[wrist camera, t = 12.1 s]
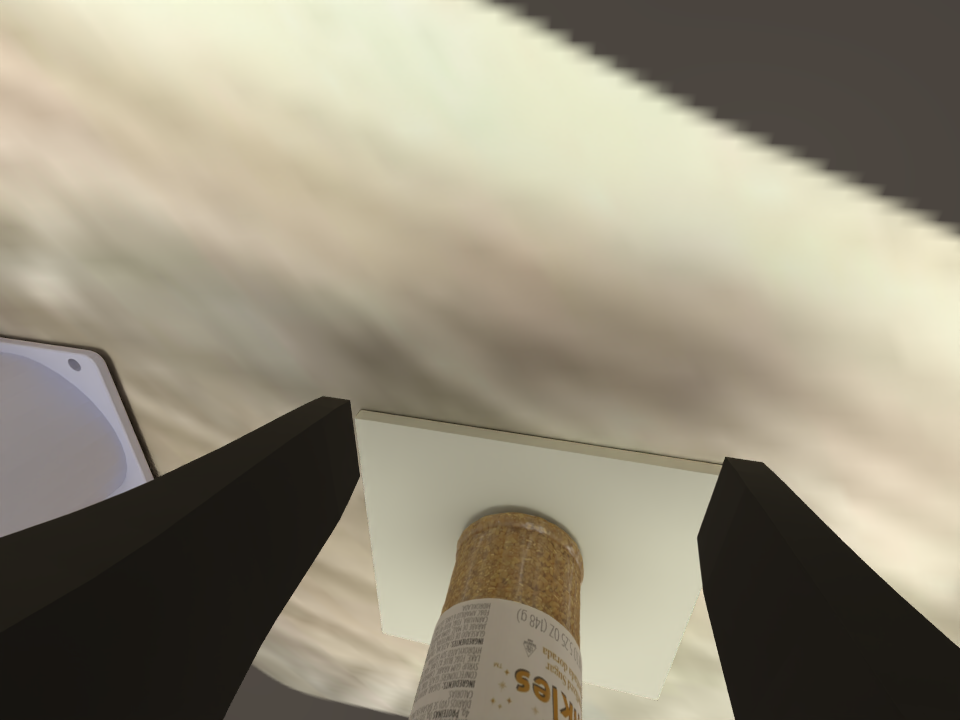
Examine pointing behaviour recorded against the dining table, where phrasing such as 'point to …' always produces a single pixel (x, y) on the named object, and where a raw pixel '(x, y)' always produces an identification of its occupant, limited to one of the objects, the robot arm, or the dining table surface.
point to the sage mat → (558, 499)
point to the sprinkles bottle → (507, 627)
